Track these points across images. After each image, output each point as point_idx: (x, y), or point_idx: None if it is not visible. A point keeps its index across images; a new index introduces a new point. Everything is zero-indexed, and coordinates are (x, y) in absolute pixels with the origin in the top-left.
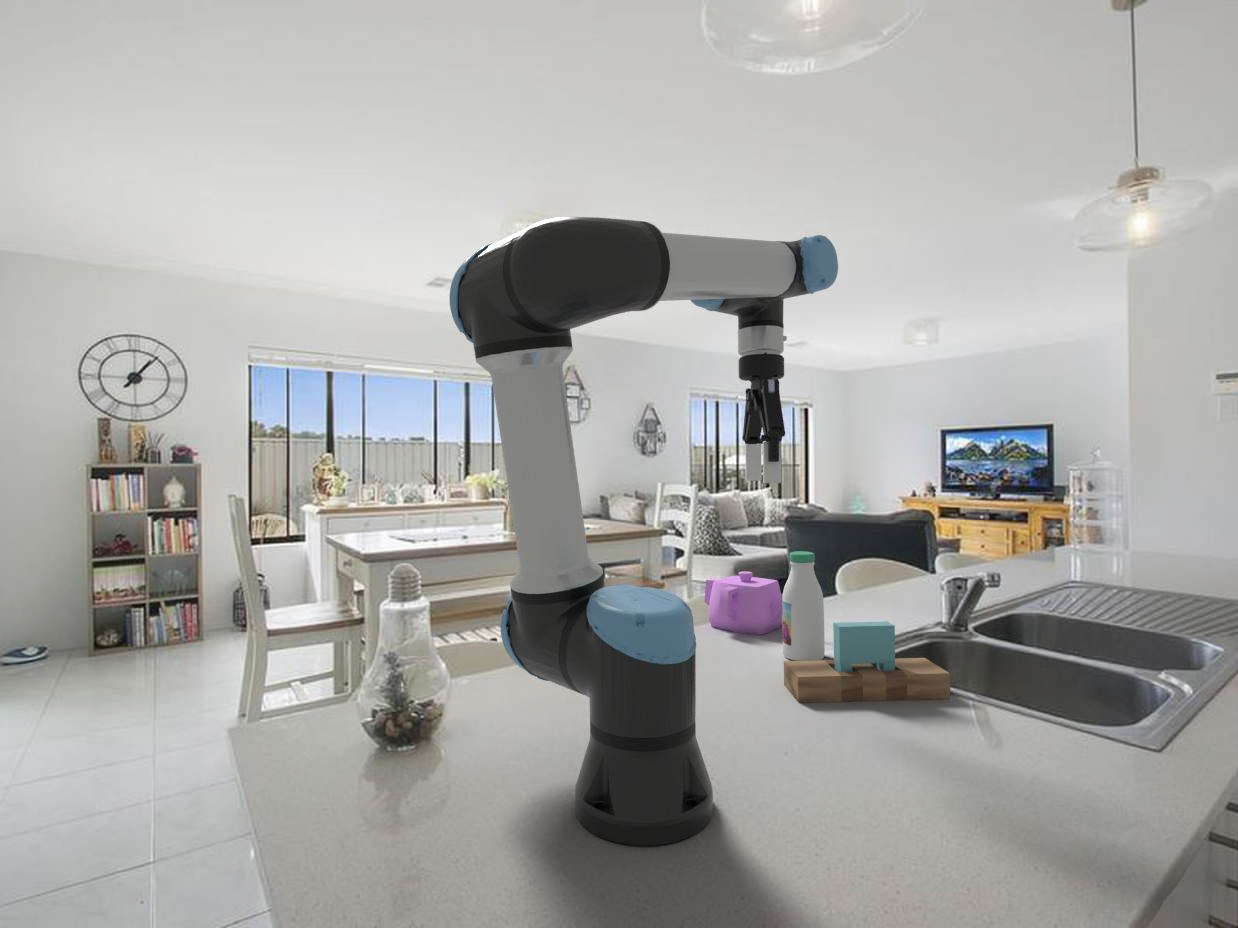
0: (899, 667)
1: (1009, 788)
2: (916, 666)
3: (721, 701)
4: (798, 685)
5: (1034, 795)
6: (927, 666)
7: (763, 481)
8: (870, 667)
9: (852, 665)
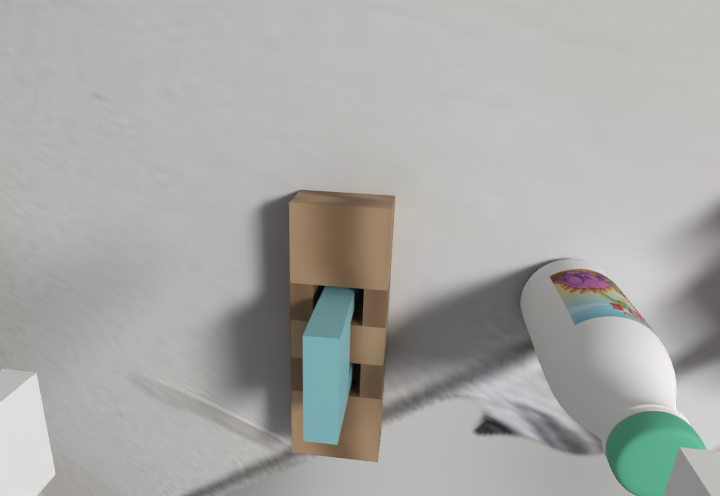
0: None
1: (31, 329)
2: None
3: (316, 40)
4: (293, 198)
5: (19, 343)
6: None
7: (16, 378)
8: None
9: None
